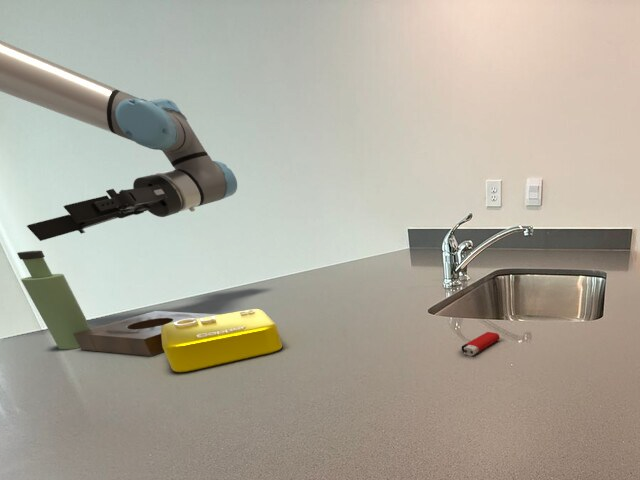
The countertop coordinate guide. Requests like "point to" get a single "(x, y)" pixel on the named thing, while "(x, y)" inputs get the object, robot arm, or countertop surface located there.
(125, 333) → the hole board
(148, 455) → the countertop surface
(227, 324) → the element tile
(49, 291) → the bottle
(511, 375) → the countertop surface
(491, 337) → the lighter
